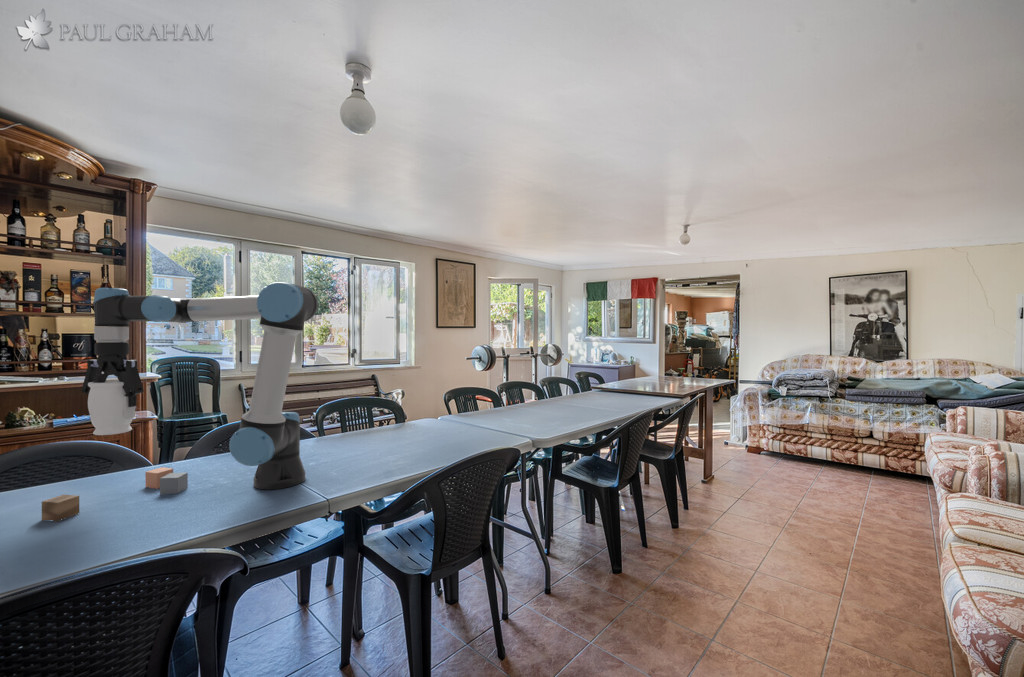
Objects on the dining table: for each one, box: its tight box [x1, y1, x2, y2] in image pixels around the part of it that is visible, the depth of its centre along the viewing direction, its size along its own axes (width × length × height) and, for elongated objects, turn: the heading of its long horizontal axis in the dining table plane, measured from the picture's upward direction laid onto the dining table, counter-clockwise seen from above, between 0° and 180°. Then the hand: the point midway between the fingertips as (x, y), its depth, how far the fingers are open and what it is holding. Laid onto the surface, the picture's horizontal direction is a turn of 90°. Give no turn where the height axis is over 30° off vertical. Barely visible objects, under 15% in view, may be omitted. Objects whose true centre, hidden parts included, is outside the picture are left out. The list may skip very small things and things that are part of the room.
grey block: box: [159, 472, 189, 495], centre depth 137 cm, size 5×5×5 cm
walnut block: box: [41, 494, 80, 522], centre depth 118 cm, size 5×5×5 cm
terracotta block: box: [145, 466, 174, 490], centre depth 142 cm, size 5×5×5 cm
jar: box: [87, 379, 137, 436], centre depth 129 cm, size 11×10×15 cm
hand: (112, 417), depth 129 cm, fingers closed on jar, 10 cm apart
